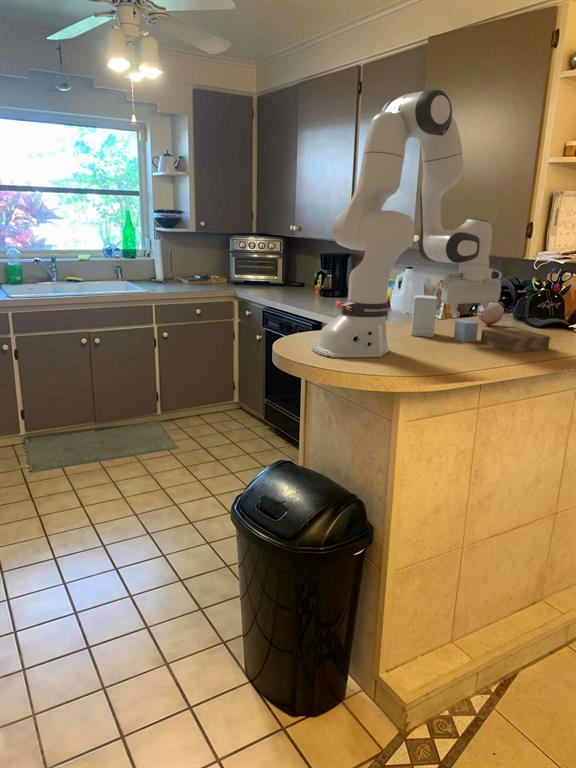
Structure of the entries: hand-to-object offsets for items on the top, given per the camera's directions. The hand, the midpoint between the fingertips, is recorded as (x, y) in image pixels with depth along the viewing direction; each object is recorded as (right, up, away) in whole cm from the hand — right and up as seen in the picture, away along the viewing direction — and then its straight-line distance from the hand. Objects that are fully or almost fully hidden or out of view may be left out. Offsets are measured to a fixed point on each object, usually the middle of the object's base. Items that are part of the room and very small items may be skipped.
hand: (468, 316), depth 184 cm
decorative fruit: (+16, 0, +27) cm, 32 cm away
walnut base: (+13, -10, -5) cm, 16 cm away
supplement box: (-13, -5, +9) cm, 16 cm away
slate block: (-1, -7, +2) cm, 8 cm away
